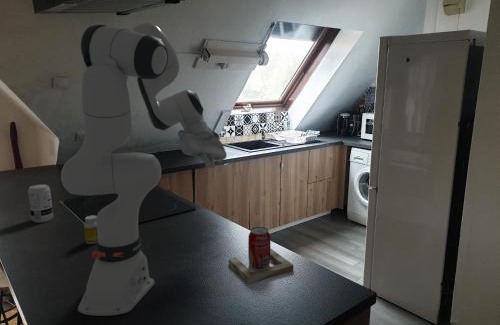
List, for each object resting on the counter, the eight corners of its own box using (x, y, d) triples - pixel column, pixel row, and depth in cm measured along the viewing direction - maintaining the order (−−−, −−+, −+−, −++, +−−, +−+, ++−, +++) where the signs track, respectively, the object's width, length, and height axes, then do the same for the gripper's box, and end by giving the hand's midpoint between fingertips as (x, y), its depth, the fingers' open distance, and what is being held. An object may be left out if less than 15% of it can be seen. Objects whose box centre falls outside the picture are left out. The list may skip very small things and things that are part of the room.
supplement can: (32, 218, 163) (27, 185, 160) (53, 215, 167) (49, 183, 164) (31, 224, 156) (26, 190, 153) (53, 221, 160) (49, 187, 157)
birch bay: (293, 270, 117) (293, 264, 116) (248, 283, 109) (248, 277, 109) (270, 253, 129) (270, 248, 128) (228, 264, 121) (228, 258, 121)
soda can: (255, 258, 125) (255, 224, 123) (273, 263, 122) (274, 228, 120) (244, 266, 119) (244, 231, 117) (263, 272, 116) (264, 236, 114)
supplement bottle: (88, 238, 142) (86, 214, 140) (103, 238, 142) (100, 214, 140) (83, 244, 137) (80, 219, 135) (98, 244, 137) (95, 219, 135)
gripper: (182, 123, 126) (195, 157, 120) (222, 135, 142) (235, 165, 136) (171, 134, 128) (183, 167, 122) (211, 145, 145) (223, 175, 139)
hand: (210, 166), depth 129 cm, fingers closed
